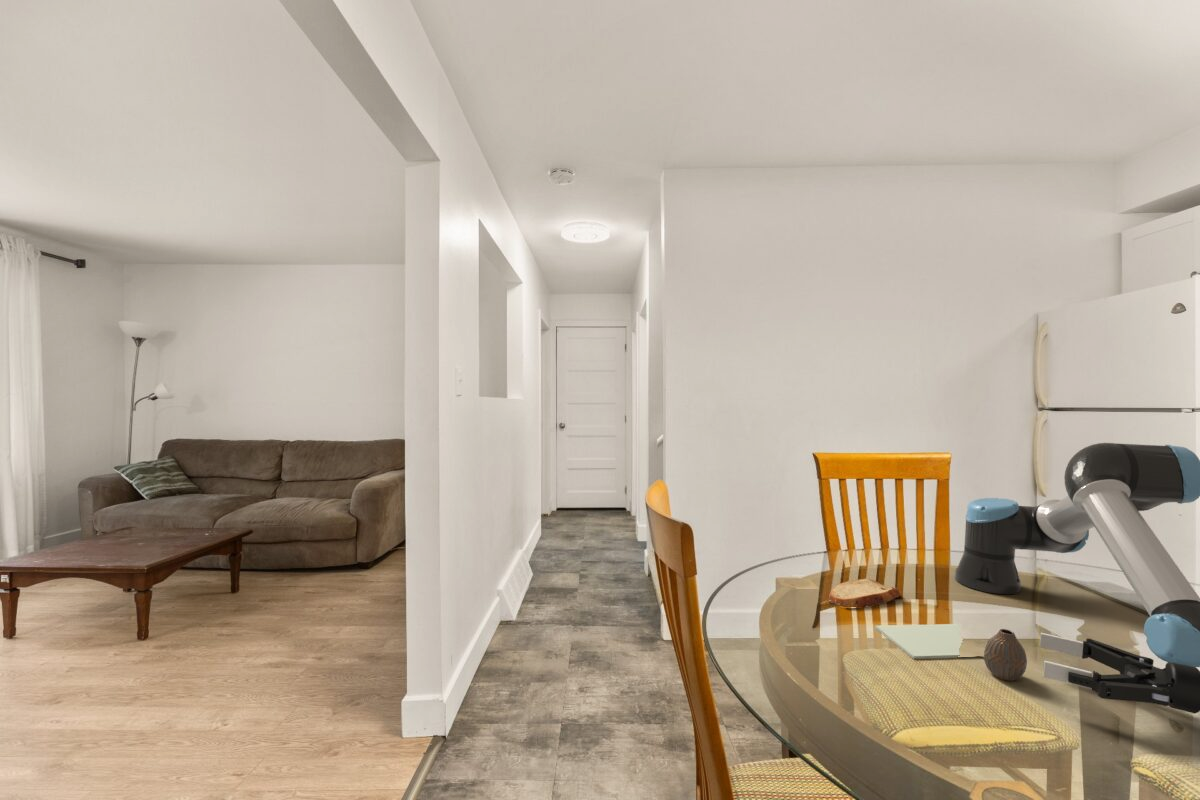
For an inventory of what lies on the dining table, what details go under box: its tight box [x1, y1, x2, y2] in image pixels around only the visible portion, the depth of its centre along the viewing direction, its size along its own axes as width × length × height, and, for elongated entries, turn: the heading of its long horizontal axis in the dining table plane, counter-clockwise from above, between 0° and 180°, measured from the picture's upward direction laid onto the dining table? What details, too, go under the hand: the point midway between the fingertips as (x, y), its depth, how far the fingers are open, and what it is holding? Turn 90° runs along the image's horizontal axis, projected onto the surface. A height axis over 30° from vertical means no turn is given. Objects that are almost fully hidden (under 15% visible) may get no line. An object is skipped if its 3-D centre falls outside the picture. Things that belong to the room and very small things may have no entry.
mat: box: [874, 623, 963, 660], centre depth 130 cm, size 20×14×1 cm
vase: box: [983, 628, 1028, 682], centre depth 116 cm, size 7×7×9 cm
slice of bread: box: [828, 578, 901, 608], centre depth 153 cm, size 18×18×4 cm
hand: (1041, 653), depth 112 cm, fingers open, 13 cm apart
